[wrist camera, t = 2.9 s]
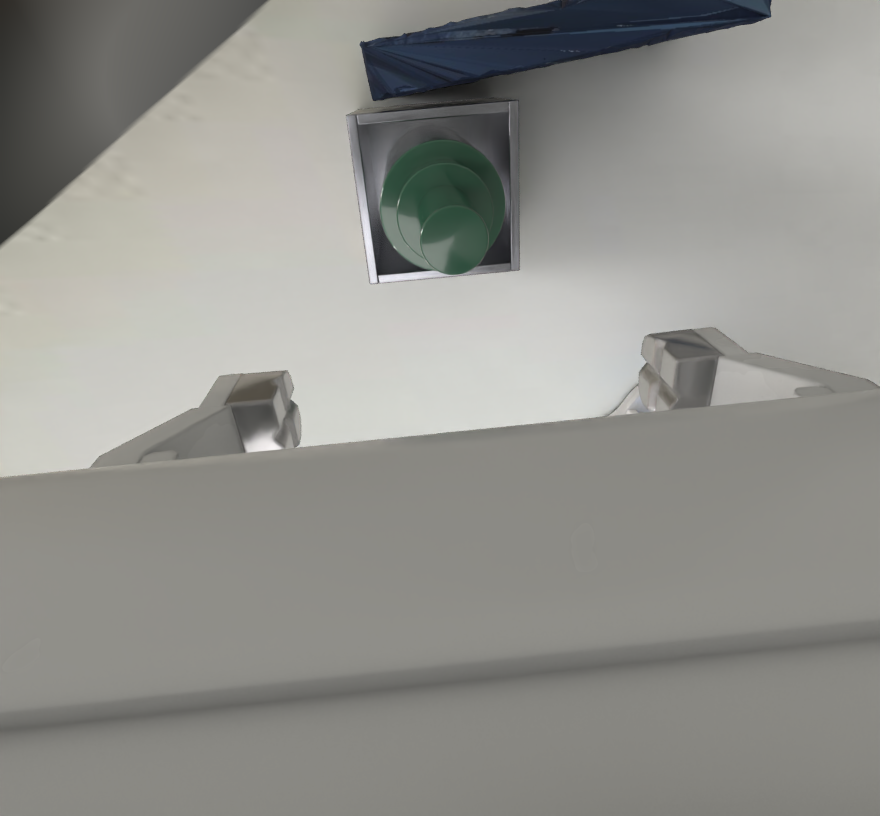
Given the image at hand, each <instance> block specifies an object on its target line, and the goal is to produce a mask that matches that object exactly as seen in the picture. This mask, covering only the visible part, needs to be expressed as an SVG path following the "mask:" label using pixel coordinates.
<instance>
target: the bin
mask: <svg viewBox="0 0 880 816" xmlns="http://www.w3.org/2000/svg"><path fill="white" fill-rule="evenodd" d="M346 119H347V126H348V134H349V141H350V148H351V155H352V162H353V169H354V176H355V183H356V190H357V197H358V204H359V211H360V219H361V226H362V233H363V240H364V247H365V254H366V261H367V268H368V275H369V282H370V284H378V283H390V282H400V281H411V280H422V279H433V278H443V277H454V276H465V275H476V274H486V273H497V272H508V271H519V270H520V233H519V100H516V99H505V98H494V97H492V98H480V99H469V100H458V101H446V102H435V103H424V104H412V105H401V106H390V107H378V108H367V109H358V110H356V111H354V112H352V113H350V114H348V115H346ZM422 126H441V127H445V128H448V129H450V130H452V131H454V132H455V133H457V134H458V135H460V136H461V137H462V138H463V139H465V140H466V141H467V142H469V143H470V144H471V145H472V146H474V147H475V148H476V149H477V150H479V151H480V152H481V153H482V154H484V155H485V156H486V157H487V158H488V159H489V161H490V162H491V163H492V164H493V166H494V167H495V169H496V170H497V172H498V174H499V176H500V178H501V181H502V184H503V188H504V192H505V202H506V206H505V216H504V221H503V224H502V228H501V230H500V232H499V235H498V237H497V238H496V240H495V242H494V243H493V245H492V246H491V247H490V249H489V250H488V251H487V252H486V254H485V256H484V258H483V259H482V261H481V262H480V263H479V264H478V265H477V266H476V267H475V268H474V269H472V270H470V271H469V272H466V273H463V274H459V275H447V274H443V273H440V272H438V271H432V270H428V269H424V268H421V267H418V266H416V265H414V264H412V263H410V262H409V261H407V260H406V259H405V258H403V257H402V256H401V255H400V254H399V253H398V252H397V251H396V250H395V249H394V247H393V246H392V245H391V243H390V242H389V240H388V238H387V236H386V234H385V232H384V229H383V226H382V223H381V218H380V208H379V204H380V194H381V189H382V184H383V178H384V173H385V168H386V162H387V159H388V156H389V154H390V152H391V150H392V148H393V147H394V145H395V144H396V143H397V141H398V140H399V139H400V138H401V137H402V136H404V135H405V134H406V133H408V132H409V131H411V130H413V129H416V128H419V127H422Z"/></svg>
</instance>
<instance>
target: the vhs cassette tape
mask: <svg viewBox="0 0 880 816" xmlns="http://www.w3.org/2000/svg"><path fill="white" fill-rule="evenodd" d="M770 5H771V0H556V1H553V2H550V3H547V4H542V5H537V6H532V7H528V8H520V7H518V8H511V9H508V10H506V11H503V12H499V13H495V14H490V15H484V16H478V17H474V18H470V19H465V20H462V21H460V22H449V23H447V24H446V25H444V26H440V27H435V28H428V29H426V30H423V31H419V32H413V33H407V34H405V33H404V34H403V35H402V36H395V37H386V38H378V39H375V40H372V41H368V42H364V41H363V42H362V41H361V43H360V46H361V48H362V53H363V58H364V63H365V68H366V73H367V77H368V82H369V86H370V91H371V95H372V99H373V101H378V100H384V99H387V98H392V97H399V96H407V95H411V94H414V93H416V92H426V91H427V90H431V89H437V88H443V87H448V86H453V85H459V84H465V83H472V82H476V81H478V80H480V79H484V78H489V77H493V76H498V75H509V74H513V73H517V72H521V71H527V70H531V69H535V68H543V67H547V66H551V65H554V64H559V63H564V62H568V61H573V60H578V59H584V58H589V57H593V56H597V55H602V54H608V53H614V52H619V51H623V50H626V49H630V48H639V47H641V46H644V45H648V46H650V45H653V44H657V43H660V42H664V41H669V40H674V39H678V38H683V37H687V36H692V35H697V34H701V33H708V32H712V31H716V30H720V29H728V28H731V27H735V26H739V25H747V24H753V23H756V22H758V21H761V20H764V19H766V18H770V17H771V10H770Z"/></svg>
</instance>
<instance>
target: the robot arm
mask: <svg viewBox="0 0 880 816" xmlns="http://www.w3.org/2000/svg"><path fill="white" fill-rule="evenodd" d="M641 355H642V356H643V358H644V359H645V361H646V362H647V363H646V364H645V365H644V367H643V368H642V369H641V370H640V372H639V380H638V385H637V386H636V387H635V388H634V389H633V390H632V391H631V392H630V393H629V394H628V396H627V397H626V398H625V399H624V401H623V402H622V403H621V405H620V406H619V407H618V408H617V409H616V410H615V411H614V412H613V413H611V414H610V415H608V416H605V417H596V418H586V419H576V420H566V421H556V422H546V423H536V424H526V425H516V426H506V427H496V428H486V429H477V430H467V431H457V432H447V433H437V434H427V435H417V436H407V437H397V438H387V439H377V440H368V441H358V442H348V443H338V444H328V445H318V446H308V447H298V448H295V447H297V446H298V445H299V444H300V440H301V418H300V412H299V408H298V405H296V404H295V403H294V402H293V401H292V400H291V396H292V393H293V390H294V387H293V383H292V379H291V375H290V374H289V372H288V370H285V371H273V372H261V373H248V374H242V373H240V374H231V375H223V376H219V377H218V379H217V380H216V382H215V383H214V385H213V386H212V388H211V389H210V391H209V393H208V394H207V396H206V397H205V399H204V400H203V402H202V403H201V405H200V407H199V408H194V409H190V410H188V411H186V412H184V413H182V414H180V415H179V416H177V417H175V418H173V419H171V420H169V421H167V422H165V423H163V424H161V425H159V426H157V427H155V428H153V429H151V430H149V431H148V432H146V433H144V434H142V435H140V436H138V437H136V438H134V439H132V440H130V441H128V442H126V443H124V444H122V445H120V446H118V447H116V448H115V449H113V450H111V451H109V452H107V453H105V454H103V455H101V456H99V457H98V458H97V460H96V461H95V462H94V463H93V465H92V466H91V467H90V468H88V469H78V470H68V471H58V472H48V473H38V474H28V475H18V476H8V477H0V816H880V387H879V386H878V385H876V384H875V383H873V382H871V381H870V380H868V379H864V378H859V377H855V376H851V375H847V374H843V373H839V372H835V371H830V370H826V369H822V368H818V367H814V366H810V365H805V364H801V363H797V362H793V361H789V360H785V359H781V358H776V357H772V356H768V355H764V354H760V353H748V352H747V351H746V350H744V349H743V348H742V347H740V346H739V345H738V344H736V343H735V342H734V341H732V340H731V339H730V338H728V337H727V336H726V335H724V334H723V333H722V332H720V331H719V330H718V329H716V328H714V327H708V328H700V329H693V330H692V329H687V330H679V331H671V332H662V333H654V334H649V335H647V336H645V337H644V340H643V343H642V350H641Z"/></svg>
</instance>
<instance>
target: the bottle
mask: <svg viewBox="0 0 880 816" xmlns="http://www.w3.org/2000/svg"><path fill="white" fill-rule="evenodd" d="M505 206H506V202H505V192H504V188H503V184H502V181H501V178H500V176H499V174H498V172H497V170H496V169H495V167H494V166H493V164H492V163H491V162H490V161H489V159H488V158H487V157H486V156H485V155H484V154H482V153H481V152H480V151H479V150H477V149H476V148H475V147H474V146H472V145H471V144H470V143H469V142H467V141H466V140H465V139H463V138H462V137H461V136H460V135H458V134H457V133H455V132H454V131H452V130H450V129H448V128H445V127H441V126H422V127H419V128H416V129H413V130H411V131H409V132H408V133H406V134H405V135H404V136H402V137H401V138H400V139H399V140H398V141H397V143H396V144H395V145H394V147H393V148H392V150H391V152H390V154H389V156H388V159H387V162H386V168H385V173H384V178H383V184H382V189H381V194H380V204H379V208H380V218H381V223H382V226H383V229H384V232H385V234H386V236H387V238H388V240H389V242H390V243H391V245H392V246H393V247H394V249H395V250H396V251H397V252H398V253H399V254H400V255H401V256H402V257H403V258H405V259H406V260H407V261H409V262H410V263H412V264H414V265H416V266H418V267H421V268H424V269H428V270H432V271H438V272H440V273H443V274H447V275H459V274H463V273H466V272H469V271H470V270H472V269H474V268H475V267H476V266H477V265H478V264H479V263H480V262H481V261H482V259H483V258H484V256H485V254H486V252H487V251H488V250H489V249H490V247H491V246H492V245H493V243H494V242H495V240H496V238H497V237H498V235H499V232H500V230H501V228H502V224H503V221H504V216H505Z"/></svg>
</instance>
